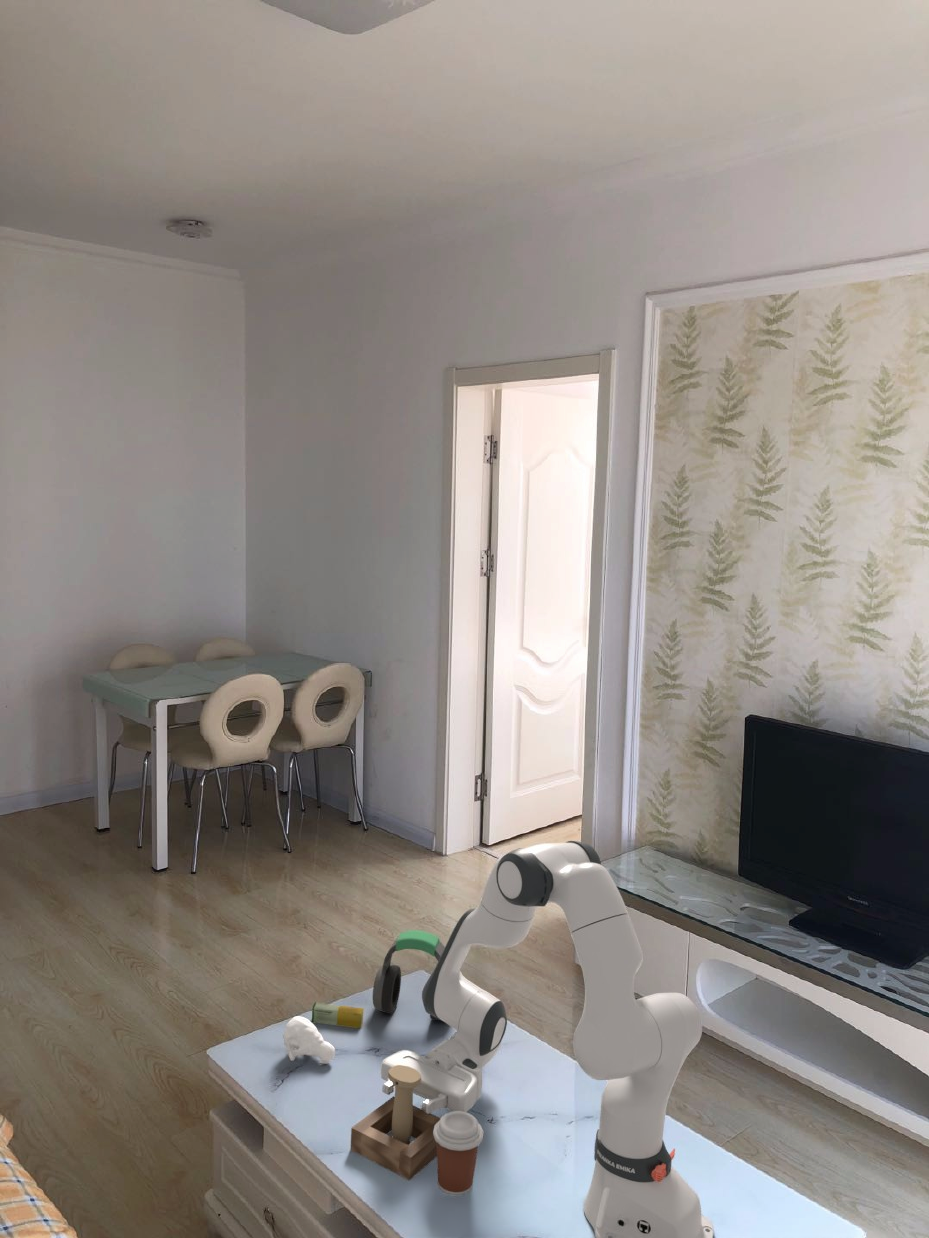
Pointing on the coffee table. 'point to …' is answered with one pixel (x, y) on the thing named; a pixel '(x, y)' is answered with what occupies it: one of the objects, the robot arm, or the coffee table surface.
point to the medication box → (337, 1015)
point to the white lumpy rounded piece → (306, 1040)
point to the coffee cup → (457, 1151)
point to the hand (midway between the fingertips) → (404, 1099)
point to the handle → (403, 1101)
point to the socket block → (395, 1141)
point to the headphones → (390, 976)
